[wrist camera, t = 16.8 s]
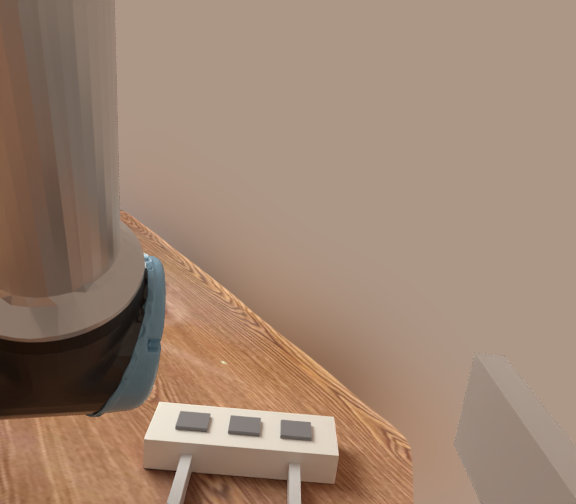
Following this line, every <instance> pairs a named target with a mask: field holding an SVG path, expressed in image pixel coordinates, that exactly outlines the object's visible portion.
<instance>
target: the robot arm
mask: <svg viewBox="0 0 576 504" xmlns="http://www.w3.org/2000/svg"><path fill="white" fill-rule="evenodd" d="M165 295H166V290H165V273H164V268H163V264H162V263H161V261H160V260H159V259H158V258H156V257H153V256H148V255H147V254H144V253H143V250H142V247H141V244H140V242H139V240H138V239H137V237H136V235H135V234H134V233H133V232H132V231H131V229H130V228H129V227H128V226H126V225H125V224H124V223H123V222H122V221H120V196H119V155H118V116H117V74H116V33H115V0H0V420H4V419H20V418H37V417H53V416H69V415H87V416H89V417H98V416H101V415H103V414H104V413H111V412H119V411H128V410H132V409H135V408H137V407H139V406H140V405H142V404H143V403H144V402H145V401H146V399H147V398H148V397H149V395H150V393H151V391H152V388H153V385H154V382H155V379H156V374H157V370H158V365H159V359H160V352H161V345H160V341H161V339H162V333H163V328H164V318H165ZM454 446H455V448H456V450H457V452H458V455H459V457H460V459H461V461H462V463H463V466H464V468H465V470H466V472H467V474H468V476H469V479H470V480H471V483H472V485H473V487H474V489H475V491H476V494H477V496H478V498H479V500H480V503H481V504H576V445H575V444H574V442H573V441H572V440H571V439H570V437H569V436H568V435H567V434H566V433H565V431H564V430H563V429H562V427H561V426H560V425H559V423H558V422H557V421H556V420H555V419H554V417H553V416H552V415H551V413H550V412H549V411H548V410H547V408H546V407H545V406H544V405H543V403H542V402H541V401H540V400H539V399H538V397H537V396H536V395H535V393H534V392H533V391H532V390H531V388H530V387H529V386H528V385H527V383H526V382H525V381H524V380H523V378H522V377H521V376H520V375H519V373H518V372H517V371H516V370H515V368H514V367H513V366H512V365H511V363H510V362H509V361H508V360H507V358H506V357H505V356H502V355H491V354H480V353H475V354H474V358H473V362H472V367H471V371H470V376H469V380H468V385H467V389H466V393H465V398H464V402H463V406H462V411H461V415H460V420H459V424H458V428H457V433H456V437H455V441H454Z"/></svg>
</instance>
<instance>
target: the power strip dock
mask: <svg viewBox="0 0 576 504" xmlns="http://www.w3.org/2000/svg"><path fill="white" fill-rule="evenodd" d="M338 459H339V452H338V445H337V437H336V430H335V422H334V417H328V416H316V415H305V414H293V413H282V412H270V411H259V410H247V409H236V408H224V407H213V406H201V405H190V404H178V403H167V402H159V404H158V406H157V409H156V411H155V414H154V416H153V418H152V421H151V423H150V426H149V428H148V431H147V433H146V435H145V438H144V460H143V468H148V469H160V470H172V471H176V474H175V478H174V481H173V484H172V488H171V491H170V495H169V498H168V501H167V504H184V500H185V496H186V492H187V488H188V484H189V480H190V476H191V472H196V473H208V474H220V475H232V476H244V477H256V478H268V479H280V480H287V504H301V482H300V481H304V482H316V483H328V484H335V479H336V472H337V465H338Z"/></svg>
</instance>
